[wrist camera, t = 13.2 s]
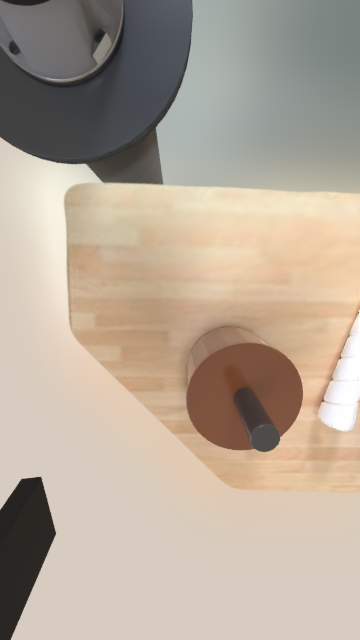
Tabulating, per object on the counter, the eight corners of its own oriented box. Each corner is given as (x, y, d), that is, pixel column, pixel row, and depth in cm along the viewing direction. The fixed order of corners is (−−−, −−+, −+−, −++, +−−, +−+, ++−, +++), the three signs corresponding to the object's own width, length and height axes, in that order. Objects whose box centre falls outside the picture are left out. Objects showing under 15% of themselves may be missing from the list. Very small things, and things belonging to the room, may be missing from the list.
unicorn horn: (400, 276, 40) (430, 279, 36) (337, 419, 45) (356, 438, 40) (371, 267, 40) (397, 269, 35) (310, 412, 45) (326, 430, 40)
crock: (182, 331, 41) (185, 352, 32) (266, 321, 41) (294, 339, 32) (191, 408, 44) (196, 448, 35) (271, 398, 44) (297, 435, 35)
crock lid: (179, 347, 33) (181, 378, 24) (296, 333, 33) (340, 358, 24) (192, 450, 35) (198, 510, 27) (300, 437, 35) (340, 493, 27)
